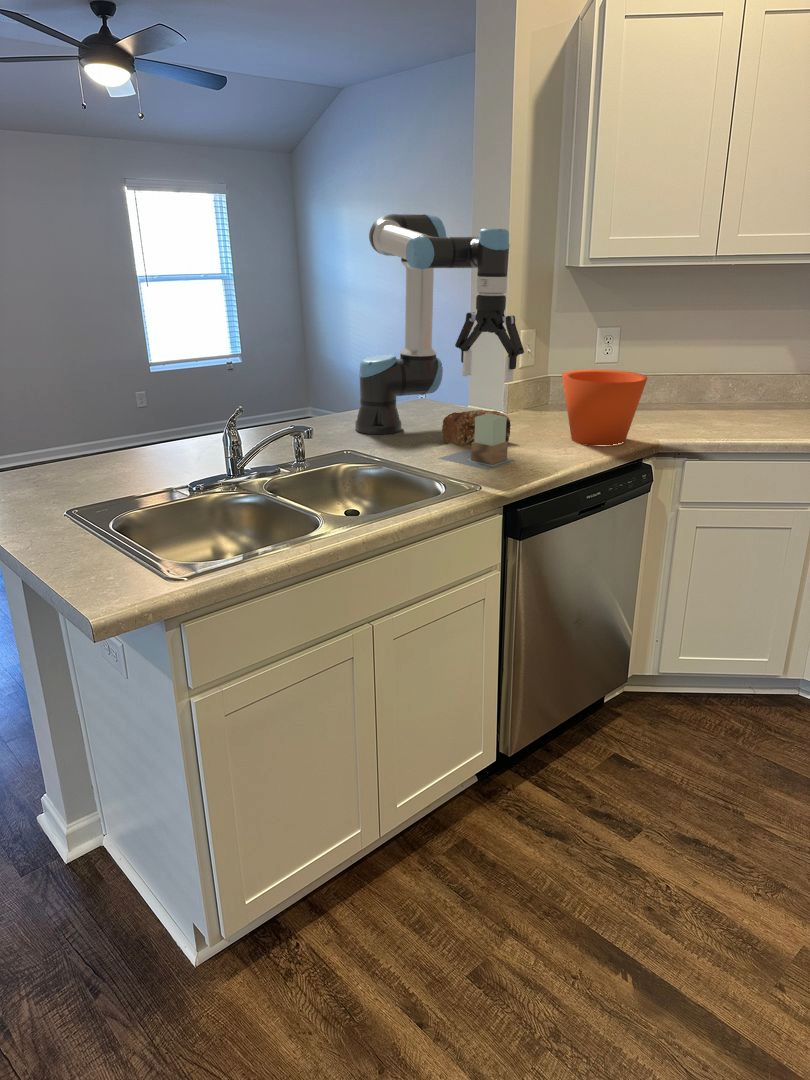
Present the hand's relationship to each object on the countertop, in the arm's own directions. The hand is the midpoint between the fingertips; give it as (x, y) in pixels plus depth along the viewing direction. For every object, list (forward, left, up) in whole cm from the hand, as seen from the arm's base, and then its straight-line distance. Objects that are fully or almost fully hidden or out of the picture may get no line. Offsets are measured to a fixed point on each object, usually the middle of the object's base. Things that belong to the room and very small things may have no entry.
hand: (487, 378), depth 196 cm
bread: (-16, +17, -24) cm, 33 cm away
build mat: (-1, -1, -23) cm, 23 cm away
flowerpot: (+10, +46, -23) cm, 53 cm away
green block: (+2, 0, -17) cm, 17 cm away
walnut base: (+2, 0, -22) cm, 22 cm away
